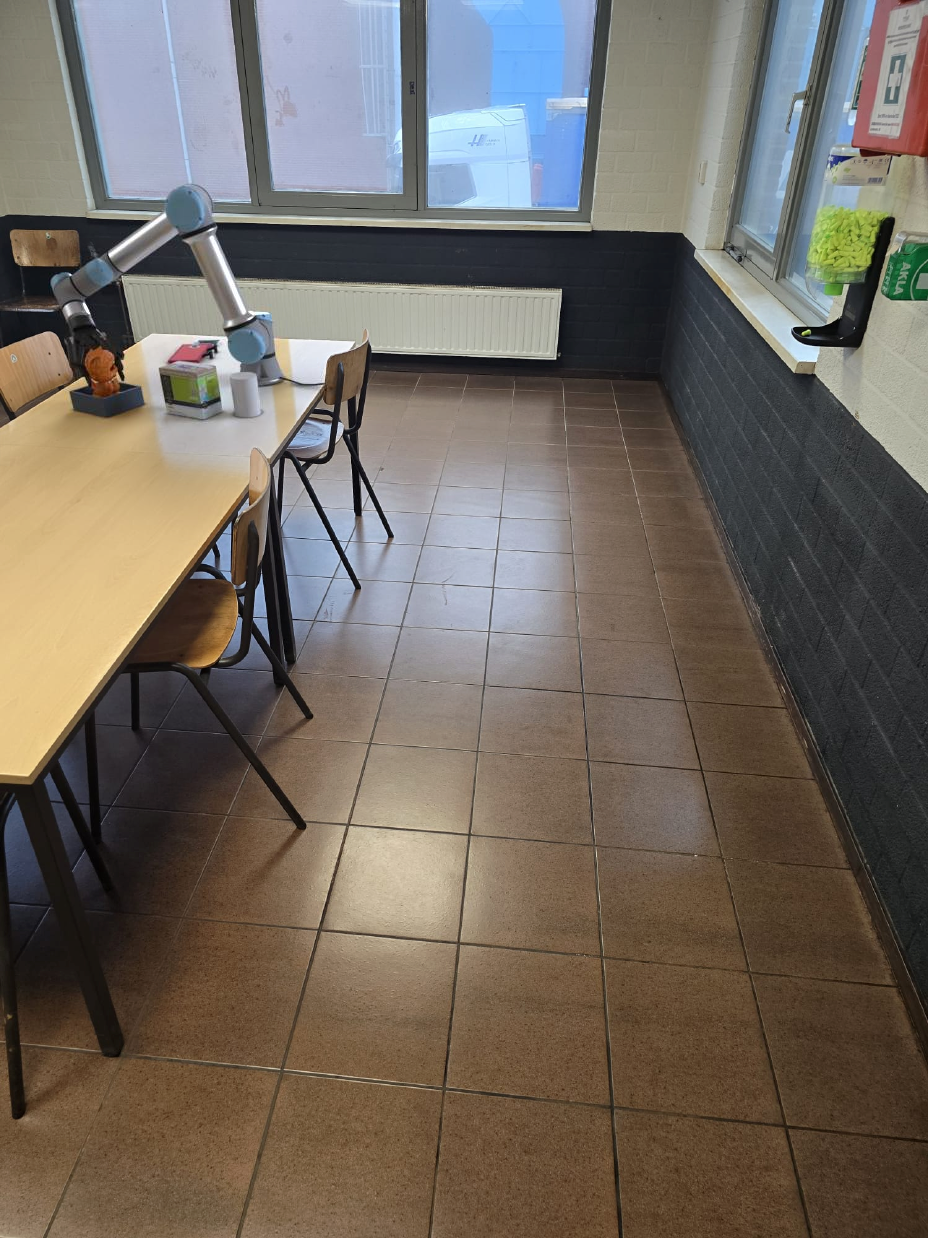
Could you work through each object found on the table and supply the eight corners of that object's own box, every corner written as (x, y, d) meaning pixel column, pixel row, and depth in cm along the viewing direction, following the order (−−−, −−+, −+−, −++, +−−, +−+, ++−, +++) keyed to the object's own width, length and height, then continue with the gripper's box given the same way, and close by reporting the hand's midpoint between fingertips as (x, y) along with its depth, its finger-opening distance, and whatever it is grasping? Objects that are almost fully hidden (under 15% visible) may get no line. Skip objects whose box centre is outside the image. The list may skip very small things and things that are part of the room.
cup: (264, 409, 270) (259, 372, 264) (256, 417, 263) (251, 379, 257) (239, 408, 271) (234, 371, 264) (231, 416, 264) (225, 378, 257)
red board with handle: (224, 341, 339) (187, 342, 339) (223, 334, 338) (186, 335, 337) (208, 363, 314) (168, 364, 314) (207, 355, 313) (166, 356, 312)
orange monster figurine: (134, 400, 273) (123, 344, 264) (112, 410, 265) (99, 353, 255) (106, 397, 276) (94, 341, 267) (83, 406, 268) (70, 349, 258)
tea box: (224, 411, 268) (217, 364, 260) (203, 420, 261) (195, 373, 253) (186, 404, 274) (179, 358, 266) (165, 413, 266) (156, 366, 258)
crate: (144, 404, 273) (141, 386, 270) (107, 417, 262) (102, 398, 259) (111, 396, 280) (107, 378, 276) (73, 409, 268) (68, 391, 265)
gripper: (114, 322, 275) (140, 381, 273) (43, 332, 264) (70, 394, 262) (115, 308, 269) (143, 369, 267) (43, 318, 257) (71, 381, 255)
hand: (107, 381), depth 264 cm, fingers closed on orange monster figurine, 9 cm apart
